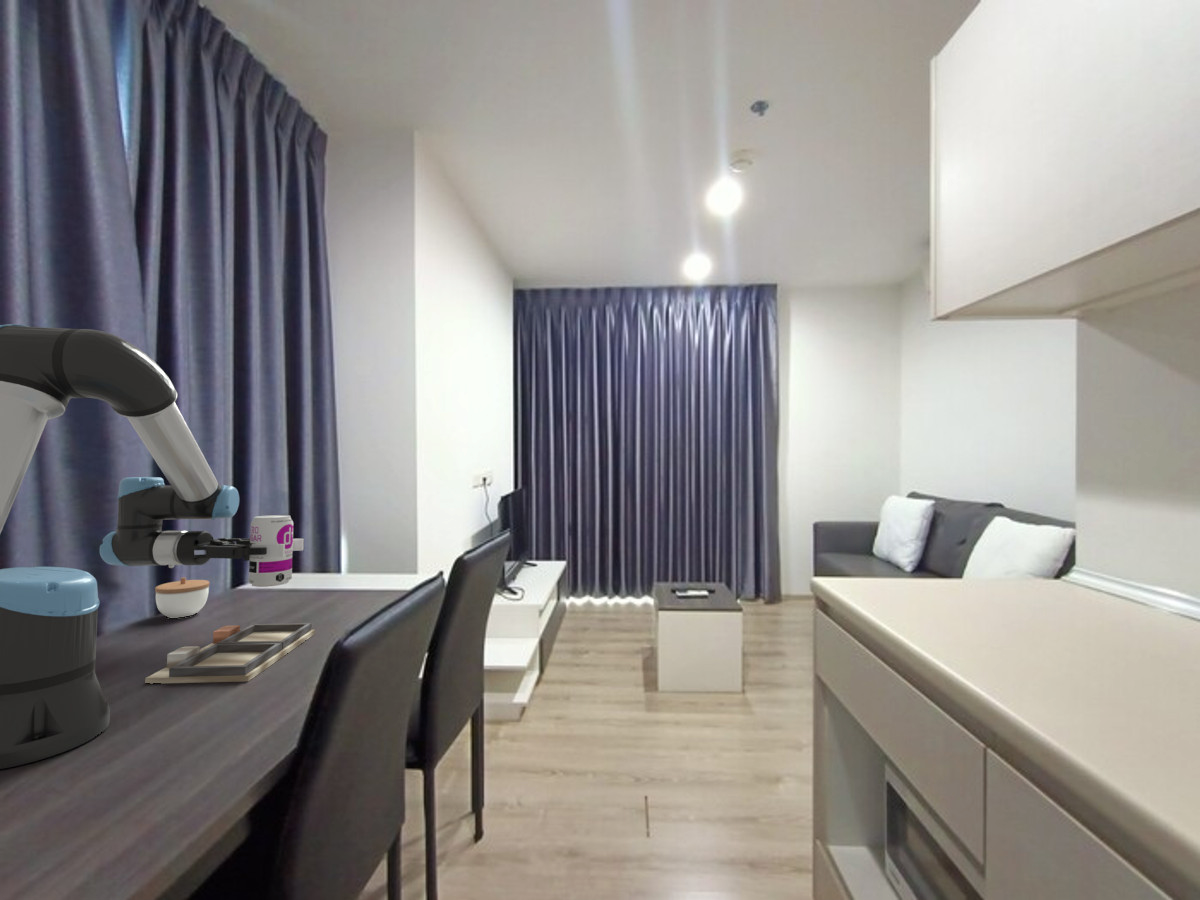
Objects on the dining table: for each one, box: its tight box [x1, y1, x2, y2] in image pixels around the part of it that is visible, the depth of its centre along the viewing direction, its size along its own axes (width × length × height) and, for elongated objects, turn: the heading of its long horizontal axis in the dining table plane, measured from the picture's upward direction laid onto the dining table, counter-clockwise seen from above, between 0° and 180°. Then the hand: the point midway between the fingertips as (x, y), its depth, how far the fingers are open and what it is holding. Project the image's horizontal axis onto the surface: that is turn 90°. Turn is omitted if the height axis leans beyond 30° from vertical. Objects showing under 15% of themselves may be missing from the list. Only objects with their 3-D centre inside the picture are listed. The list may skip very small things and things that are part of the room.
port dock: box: [144, 622, 316, 685], centre depth 105 cm, size 26×17×4 cm, turn 5°
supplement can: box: [248, 514, 294, 588], centre depth 118 cm, size 8×8×15 cm
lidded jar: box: [154, 577, 210, 619], centre depth 132 cm, size 11×11×9 cm
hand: (293, 547), depth 119 cm, fingers closed on supplement can, 8 cm apart
